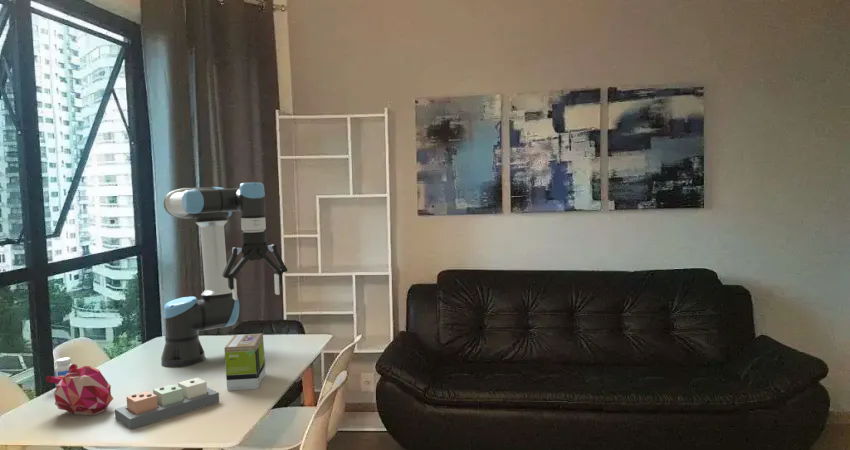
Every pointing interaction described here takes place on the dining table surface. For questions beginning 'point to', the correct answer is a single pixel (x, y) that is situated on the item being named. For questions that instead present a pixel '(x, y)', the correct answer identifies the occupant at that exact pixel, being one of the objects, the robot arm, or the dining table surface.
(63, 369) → the pill bottle
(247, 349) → the tea box
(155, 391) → the tile two
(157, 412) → the button board
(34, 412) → the dining table surface
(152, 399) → the tile three
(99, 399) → the sculpture
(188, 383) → the tile one
